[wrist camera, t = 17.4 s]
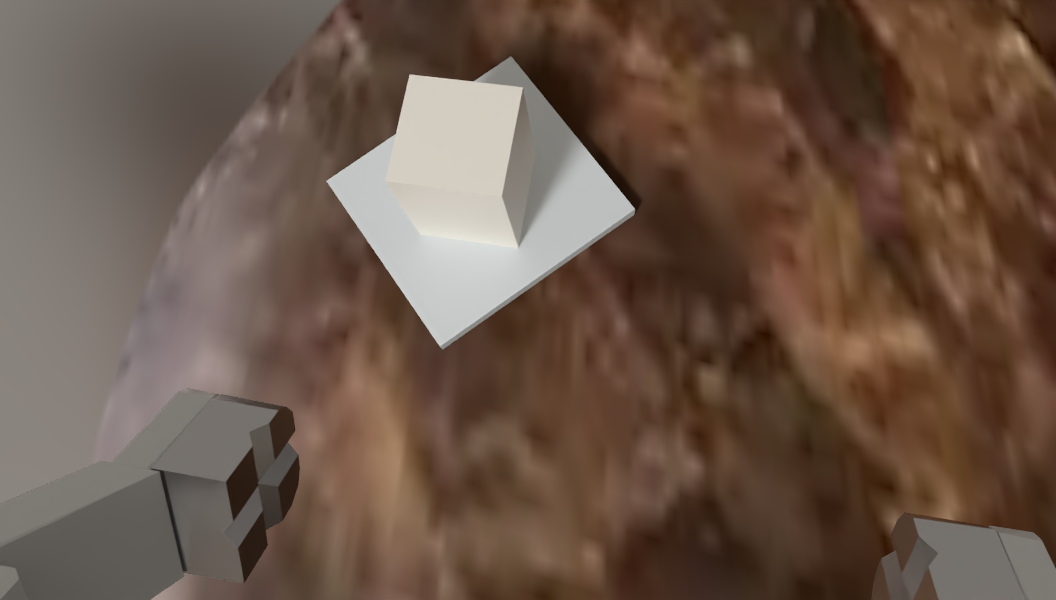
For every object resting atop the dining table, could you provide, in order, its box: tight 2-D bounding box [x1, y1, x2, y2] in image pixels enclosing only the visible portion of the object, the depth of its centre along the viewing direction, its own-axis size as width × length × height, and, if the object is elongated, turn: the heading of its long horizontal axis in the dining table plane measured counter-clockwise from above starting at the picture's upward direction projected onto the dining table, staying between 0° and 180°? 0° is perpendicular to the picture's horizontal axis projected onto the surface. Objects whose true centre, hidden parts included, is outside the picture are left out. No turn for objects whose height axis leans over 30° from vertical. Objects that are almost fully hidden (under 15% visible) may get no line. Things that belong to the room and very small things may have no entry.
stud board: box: [327, 57, 635, 349], centre depth 43 cm, size 13×12×6 cm
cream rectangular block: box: [385, 75, 536, 248], centre depth 42 cm, size 6×6×8 cm
